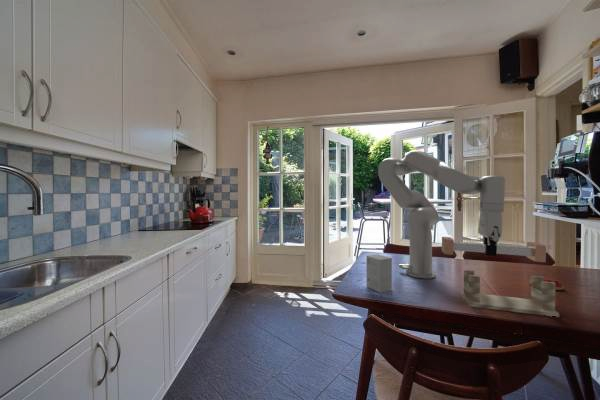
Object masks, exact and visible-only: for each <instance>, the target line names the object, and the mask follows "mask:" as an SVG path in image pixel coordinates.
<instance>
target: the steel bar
mask: <svg viewBox="0 0 600 400" xmlns="http://www.w3.org/2000/svg"><path fill="white" fill-rule="evenodd" d="M486 245H488V244H483V242H482V243H481V242H465V241H464V242H463V241H455V240H454V239H453V238H452V237H451V236H442V237H441V252H442V253H443V254H444V255H450V256H451V255H452V256H453V255H454V251H459V252H472V253H482V254H486ZM496 255H509V256H510V255H511V256H512V255H513V256H521V257H522V256H523V257H524V256H525V257H526V258H527V259H529V260H531V261H533V262H537V263H546V261H547V259H546V257H547V245H545V244H543V243H539V242H536V241H535V242H532V241H527V242H526V245H525V246H524V245H510V244H498V243H497V253H496Z"/></svg>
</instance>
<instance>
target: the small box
mask: <svg viewBox="0 0 600 400" xmlns="http://www.w3.org/2000/svg"><path fill="white" fill-rule="evenodd" d="M392 260H393V258H392V257H388V256H385V255H382V254H379V253H376V254H368V255H366V287H367V288H369V289H372V290H373V291H376V292H377V293H379V294H382V293H386V292H389V291H390V292H391V291H393V270H392V269H393V266H392V265H393V264H392V263H393V262H392Z"/></svg>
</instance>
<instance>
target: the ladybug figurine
mask: <svg viewBox="0 0 600 400" xmlns="http://www.w3.org/2000/svg"><path fill="white" fill-rule="evenodd" d="M544 282H554V283H556V287H555V291H562V290H563V289H564V288H565V287H564V285H562V284H561V282H560V281H558V280H557V279H554V278H549V277H544ZM529 284H530V285H531V279H530V281H529Z"/></svg>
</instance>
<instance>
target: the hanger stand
mask: <svg viewBox="0 0 600 400" xmlns="http://www.w3.org/2000/svg"><path fill="white" fill-rule="evenodd" d="M544 278H545V277H544V276H543V275H542V276H540V275H531V277H530V280H531V284H530V287H531V288H530V299H529V298H521V297H512V296H505V295H495V294H484V293H481V276H480V275H475V271H474V270H469V269H463V291H461V296H462V298H463V299H464V300H465V303H467V304H468V306H469V307H474V308H481V309H490V310H497V311H505V312H513V313H520V314H521V313H522V314H528V315H538V316H544V315H545V316H544V317H546V316H547V317H552V316H556V317H555V318H560V313H559V312H558V311H557V310H556V290H555V287H556V283H554V282H544Z"/></svg>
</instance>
